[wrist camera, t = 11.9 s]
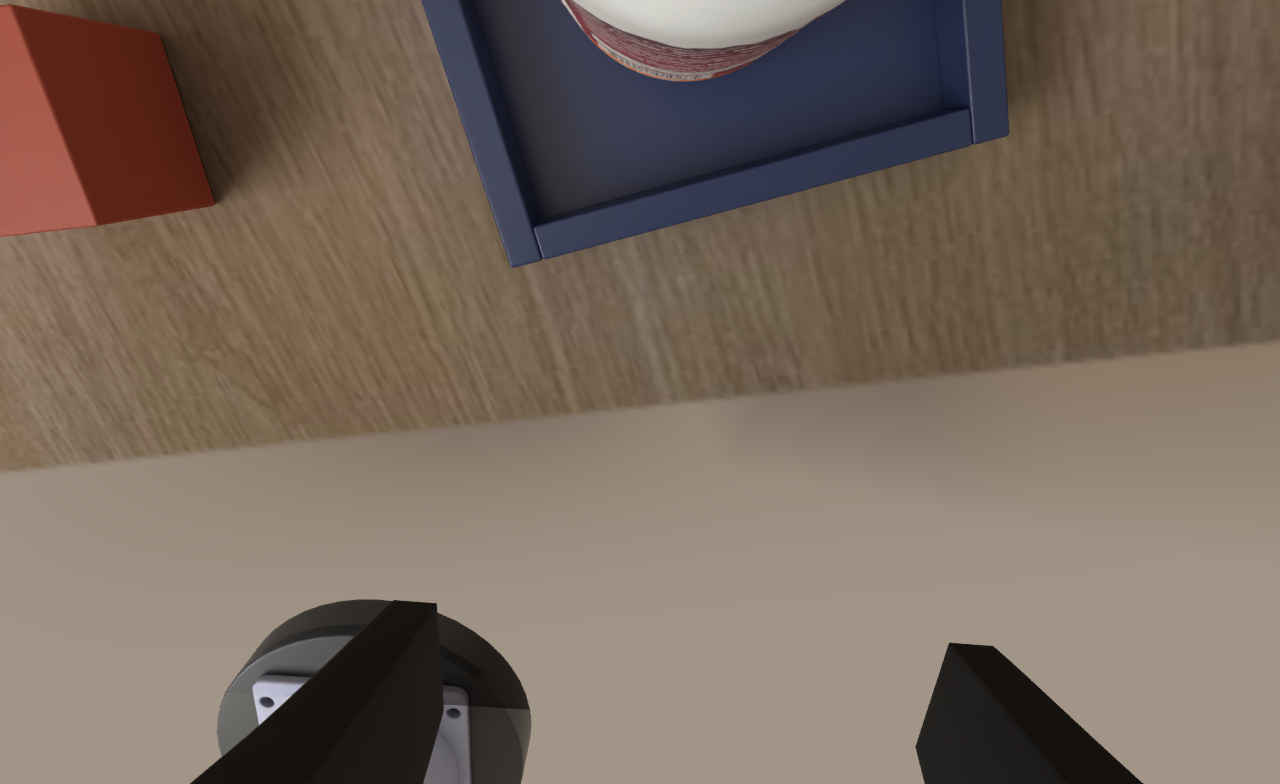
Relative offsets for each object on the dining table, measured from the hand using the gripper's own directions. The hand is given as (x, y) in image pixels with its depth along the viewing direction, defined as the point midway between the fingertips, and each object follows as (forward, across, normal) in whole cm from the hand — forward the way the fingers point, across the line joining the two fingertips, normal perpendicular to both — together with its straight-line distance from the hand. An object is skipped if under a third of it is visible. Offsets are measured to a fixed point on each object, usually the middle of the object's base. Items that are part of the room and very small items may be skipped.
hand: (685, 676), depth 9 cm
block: (+10, +15, -6) cm, 19 cm away
